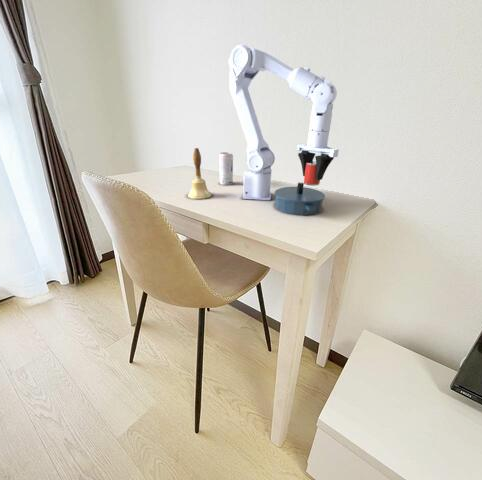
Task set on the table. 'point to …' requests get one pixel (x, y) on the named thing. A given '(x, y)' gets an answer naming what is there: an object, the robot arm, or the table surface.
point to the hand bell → (198, 180)
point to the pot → (298, 207)
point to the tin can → (311, 174)
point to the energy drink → (226, 168)
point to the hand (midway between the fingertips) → (312, 177)
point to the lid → (300, 194)
